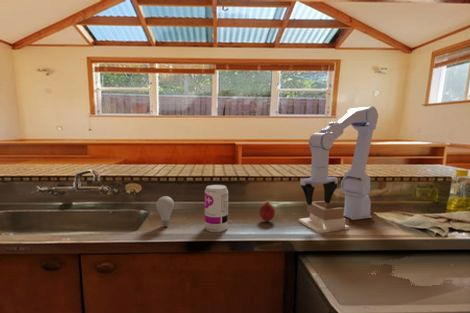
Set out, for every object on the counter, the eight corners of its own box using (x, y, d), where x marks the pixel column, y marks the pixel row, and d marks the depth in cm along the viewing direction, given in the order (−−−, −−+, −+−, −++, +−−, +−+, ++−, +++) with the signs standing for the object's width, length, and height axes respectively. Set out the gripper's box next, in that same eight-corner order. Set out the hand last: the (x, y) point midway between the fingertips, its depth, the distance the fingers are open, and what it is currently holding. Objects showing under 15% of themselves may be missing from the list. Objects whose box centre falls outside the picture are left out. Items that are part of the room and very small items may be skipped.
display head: (327, 218, 102) (327, 208, 102) (349, 229, 91) (349, 218, 90) (298, 221, 98) (299, 211, 98) (317, 233, 87) (318, 221, 86)
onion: (274, 225, 94) (274, 203, 93) (258, 223, 95) (258, 202, 94) (274, 219, 100) (275, 199, 99) (260, 218, 101) (260, 198, 100)
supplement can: (210, 234, 85) (209, 190, 83) (201, 226, 92) (201, 185, 91) (231, 230, 89) (232, 188, 87) (221, 222, 96) (222, 183, 94)
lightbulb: (177, 224, 94) (177, 195, 93) (168, 230, 88) (167, 199, 87) (163, 222, 96) (162, 193, 95) (153, 228, 90) (152, 197, 89)
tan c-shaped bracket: (324, 209, 100) (325, 200, 100) (343, 218, 91) (343, 208, 90) (307, 211, 98) (307, 202, 98) (324, 220, 88) (324, 210, 88)
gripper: (329, 164, 97) (327, 199, 99) (296, 165, 93) (294, 202, 94) (342, 166, 91) (340, 204, 92) (307, 168, 86) (305, 207, 88)
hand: (318, 203), depth 93 cm, fingers open, 7 cm apart
